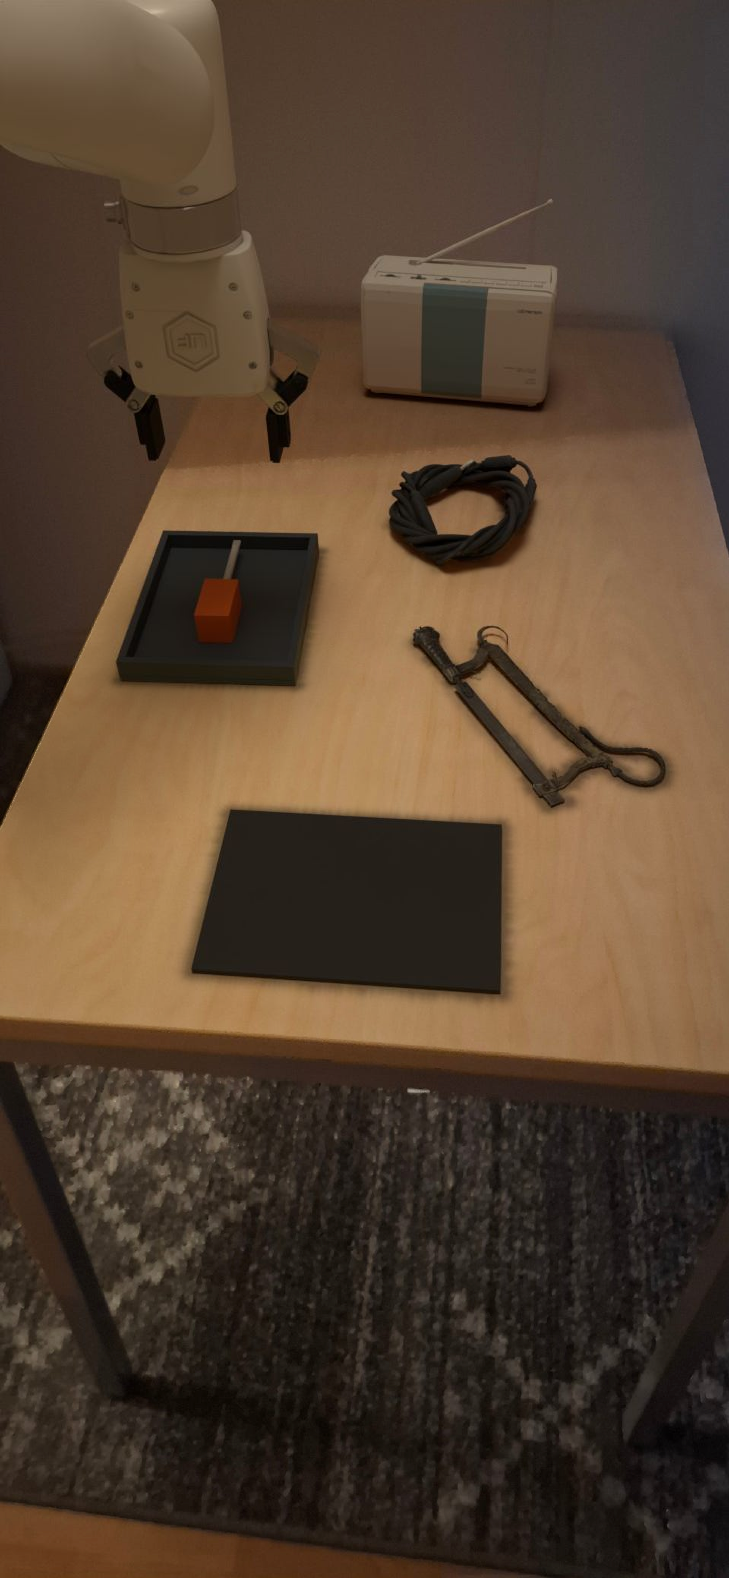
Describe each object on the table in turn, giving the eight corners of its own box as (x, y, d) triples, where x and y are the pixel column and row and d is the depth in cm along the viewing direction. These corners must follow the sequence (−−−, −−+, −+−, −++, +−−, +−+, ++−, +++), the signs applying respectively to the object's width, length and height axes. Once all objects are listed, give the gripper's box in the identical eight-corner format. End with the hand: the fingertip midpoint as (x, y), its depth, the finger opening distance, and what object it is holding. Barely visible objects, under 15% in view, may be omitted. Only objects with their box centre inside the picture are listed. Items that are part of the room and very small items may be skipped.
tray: (295, 686, 87) (293, 666, 85) (120, 680, 88) (115, 661, 86) (319, 551, 100) (317, 533, 98) (166, 548, 101) (162, 530, 99)
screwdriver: (233, 643, 90) (228, 615, 88) (198, 642, 90) (193, 614, 88) (254, 555, 99) (251, 527, 97) (223, 554, 99) (219, 527, 97)
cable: (512, 584, 96) (516, 543, 93) (365, 562, 99) (364, 522, 95) (543, 486, 107) (547, 447, 104) (410, 470, 110) (411, 431, 107)
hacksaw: (406, 638, 91) (406, 625, 90) (508, 604, 94) (509, 590, 93) (561, 824, 76) (563, 810, 75) (676, 776, 79) (680, 762, 78)
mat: (191, 972, 68) (190, 969, 68) (230, 812, 77) (230, 808, 77) (500, 993, 66) (500, 990, 66) (501, 827, 76) (501, 824, 75)
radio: (361, 399, 121) (355, 212, 106) (376, 367, 126) (373, 184, 111) (542, 415, 117) (562, 223, 102) (550, 381, 122) (570, 195, 108)
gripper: (41, 240, 68) (98, 476, 80) (305, 240, 66) (321, 480, 79) (72, 199, 73) (121, 427, 85) (318, 199, 72) (331, 431, 84)
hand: (217, 453), depth 82 cm, fingers open, 9 cm apart
